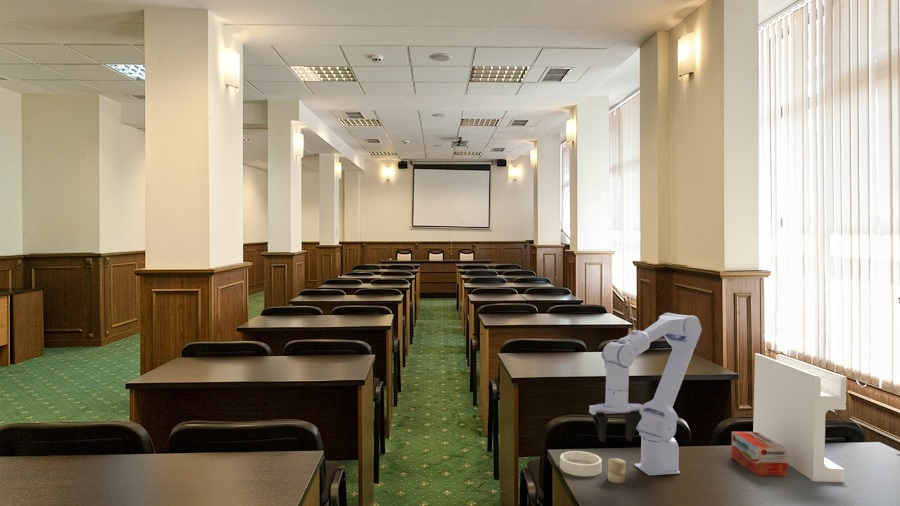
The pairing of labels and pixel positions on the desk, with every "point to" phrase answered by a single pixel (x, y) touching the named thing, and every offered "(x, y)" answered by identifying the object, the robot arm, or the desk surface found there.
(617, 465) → the tan wooden cylinder
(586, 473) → the bowl
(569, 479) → the desk surface
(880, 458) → the desk surface
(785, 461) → the medicine box
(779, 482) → the desk surface
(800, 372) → the white panel with trough
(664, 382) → the robot arm
